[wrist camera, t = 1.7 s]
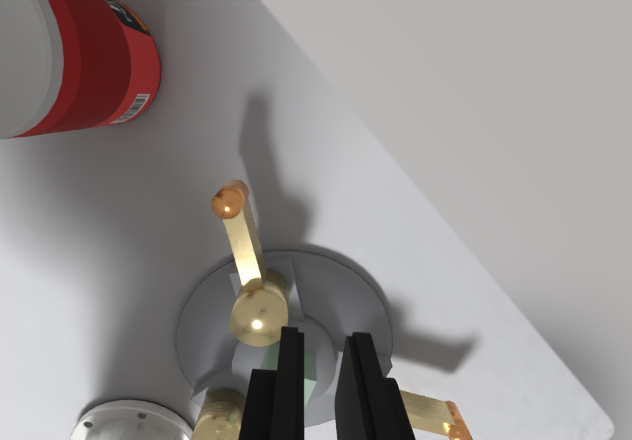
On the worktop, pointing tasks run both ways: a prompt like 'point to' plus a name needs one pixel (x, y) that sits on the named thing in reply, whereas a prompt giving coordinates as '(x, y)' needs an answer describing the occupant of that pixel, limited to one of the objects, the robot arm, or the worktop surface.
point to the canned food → (73, 66)
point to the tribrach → (304, 312)
